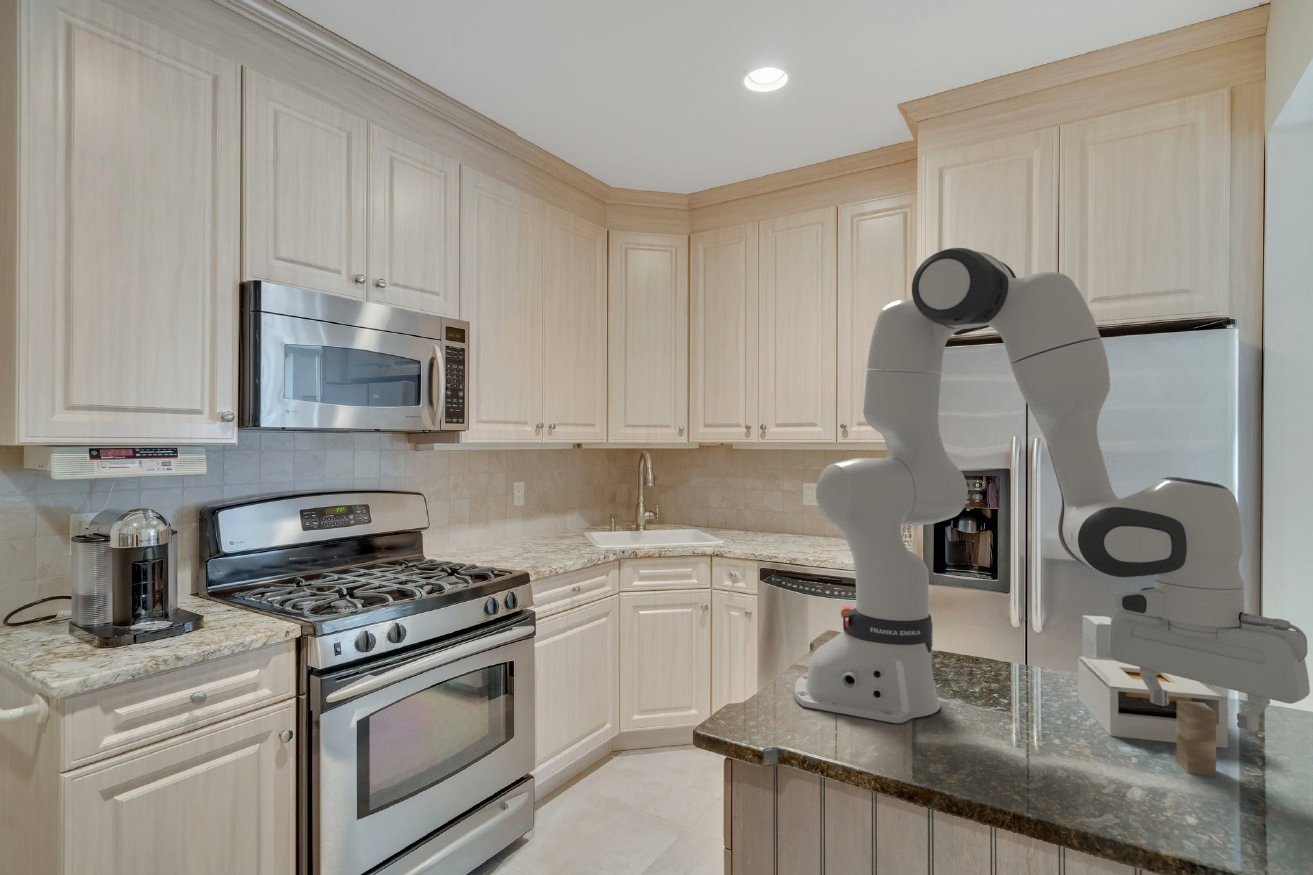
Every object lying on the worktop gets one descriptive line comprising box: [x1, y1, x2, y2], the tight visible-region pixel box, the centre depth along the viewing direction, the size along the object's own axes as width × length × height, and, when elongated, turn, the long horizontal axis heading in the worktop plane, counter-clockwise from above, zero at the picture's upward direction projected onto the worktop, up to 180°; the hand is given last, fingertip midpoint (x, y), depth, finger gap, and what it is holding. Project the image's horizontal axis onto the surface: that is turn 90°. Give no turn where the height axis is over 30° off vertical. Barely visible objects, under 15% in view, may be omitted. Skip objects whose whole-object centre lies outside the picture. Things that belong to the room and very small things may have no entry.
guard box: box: [1077, 655, 1229, 749], centre depth 101 cm, size 14×14×7 cm
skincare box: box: [1081, 615, 1114, 659], centre depth 113 cm, size 6×4×12 cm
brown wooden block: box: [1176, 701, 1217, 777], centre depth 87 cm, size 3×3×8 cm
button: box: [1122, 672, 1191, 703], centre depth 101 cm, size 8×8×3 cm
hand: (1201, 715), depth 86 cm, fingers open, 8 cm apart
